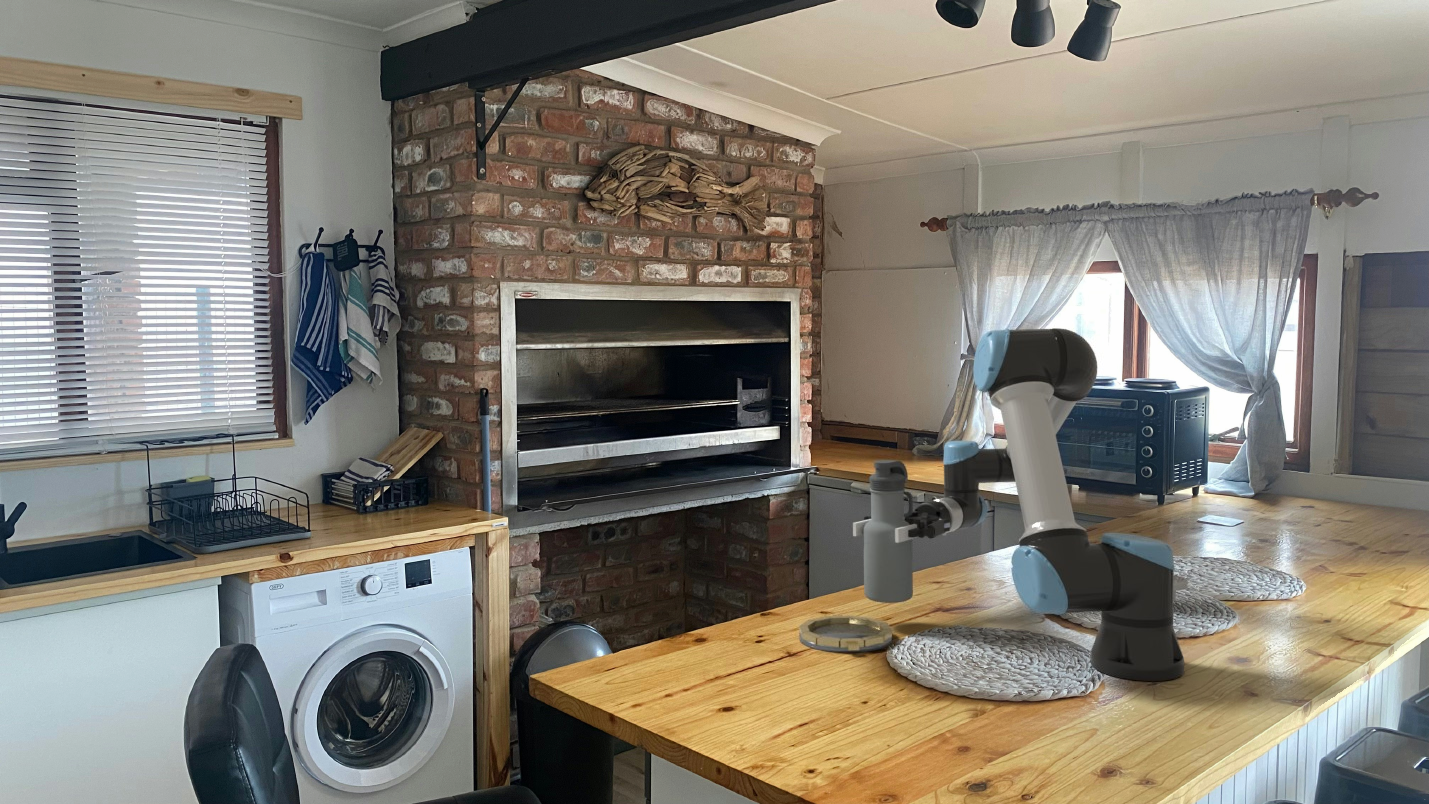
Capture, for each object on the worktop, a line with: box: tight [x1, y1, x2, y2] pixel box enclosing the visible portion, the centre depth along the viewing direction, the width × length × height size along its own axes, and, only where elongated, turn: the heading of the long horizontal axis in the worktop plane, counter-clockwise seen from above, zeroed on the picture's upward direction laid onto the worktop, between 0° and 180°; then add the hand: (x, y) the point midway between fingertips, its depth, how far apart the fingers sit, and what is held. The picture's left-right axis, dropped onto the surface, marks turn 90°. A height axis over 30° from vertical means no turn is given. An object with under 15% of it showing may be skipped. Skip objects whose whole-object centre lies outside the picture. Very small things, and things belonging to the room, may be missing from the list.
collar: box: [798, 614, 893, 654], centre depth 199 cm, size 22×18×2 cm
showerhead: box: [1173, 574, 1189, 602], centre depth 216 cm, size 9×7×10 cm
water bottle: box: [863, 459, 914, 604], centre depth 206 cm, size 10×10×28 cm
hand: (875, 532), depth 203 cm, fingers closed on water bottle, 10 cm apart
